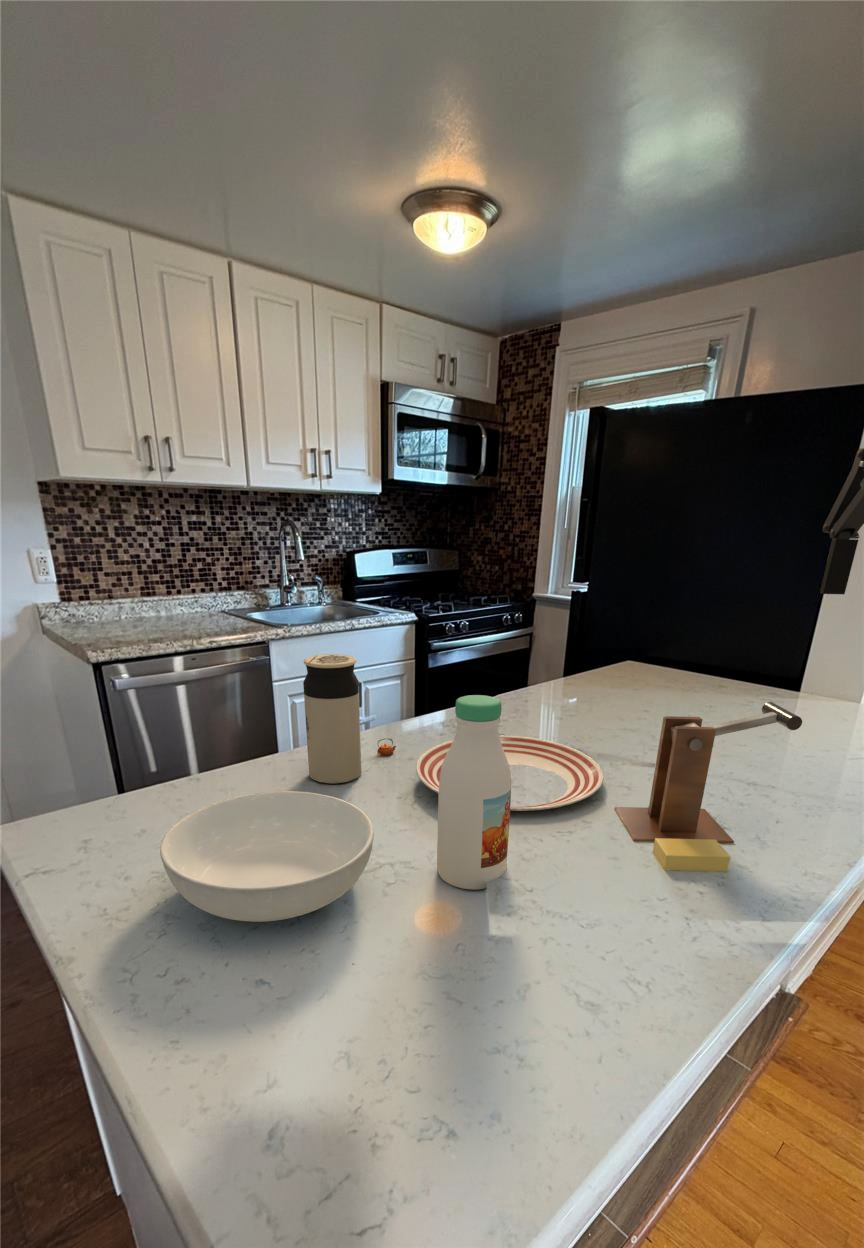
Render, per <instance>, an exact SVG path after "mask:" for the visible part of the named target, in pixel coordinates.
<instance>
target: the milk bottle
mask: <svg viewBox="0 0 864 1248" xmlns="http://www.w3.org/2000/svg"><path fill="white" fill-rule="evenodd" d="M454 707H455V708H454V711H455V712H454V713H455V718H454V720H455V722H456V723H457V724H456V725H457V726H456V731H455V734H454V738H453V739H452V740H453V742H452V745H451V747H450V749H449V751H448V753H447V754H446V757H445V759H444V761H443V764H442V768H441V773H440V780H439V793H438V799H437V801H438V804H437V842H436V843H437V844H436V847H437V848H436V869H437V872H438V875H439V876H440V878H441V879H442V880H443V881H444V882H445V883H447V884H448V885H450V886H453V887H456V888H459V889H465V890H484V889H487V888H488V887H487V886H488V885H487V882H489V881H493V880H496V879H497V878H499V877H501V876H502V875H504V873H505V872H506V870H507V863H508V848H509V835H510V834H509V833H510V819H511V810H510V807H511V801H512V772H511V768H510V765H509V763H508V760H507V757H506V755H505V753H504V750H503V748H502V745H501V742H500V738H499V735H500V734H499V733H500V732H499V725H500V723H501V721H502V720H501V716H502V701H501V700H500V699H499V698H497V697H494V696H491V695H490V696H489V695H484V694H483V695H481V694H472V695H471V694H470V695H464V696H463V695H462V696H460V697H458V698H457V699H456V700H455V706H454Z"/></svg>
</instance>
